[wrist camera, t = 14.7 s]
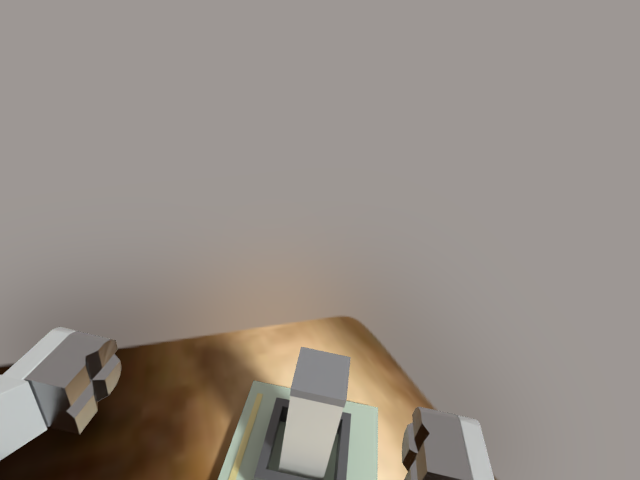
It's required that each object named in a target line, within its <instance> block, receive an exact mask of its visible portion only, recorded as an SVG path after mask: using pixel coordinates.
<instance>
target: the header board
mask: <svg viewBox="0 0 640 480" xmlns="http://www.w3.org/2000/svg"><path fill="white" fill-rule="evenodd" d="M290 391H291V389H290V388H286V387H281V386H277V385H272V384H268V383H263V382H259V381H253V384H252V386H251V389H250V392H249V395H248V397H247V400H246V403H245V406H244V408H243V411H242V414H241V417H240V420H239V422H238V425H237V428H236V431H235V433H234V436H233V439H232V442H231V444H230V447H229V450H228V453H227V455H226V458H225V461H224V464H223V467H222V469H221V472H220V475H219V478H218V480H312V479H307V478H303V477H299V476H294V475H290V474H286V473H281V472H278V470H279V464H280V458H281V452H282V445H283V439H284V433H285V427H286V420H287V414H288V408H289V402H290ZM377 461H378V408H377V407H372V406H368V405H363V404H359V403H354V402H349V401H346V404H345V407H344V408H343V411H342V415H341V419H340V422H339V426H338V429H337V433H336V436H335V440H334V443H333V447H332V450H331V454H330V457H329V461H328V464H327V468H326V471H325V475H324V478H323V480H377Z"/></svg>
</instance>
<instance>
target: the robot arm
mask: <svg viewBox="0 0 640 480" xmlns="http://www.w3.org/2000/svg"><path fill="white" fill-rule="evenodd" d="M117 350H118V347H117V344H116V340H112V339H108V338H104V337H100V336H96V335H92V334H88V333H84V332H79V331H76V330H71V329H67V328H63V327H58V328H56V329H53V330H51V331H50V332H49V333H48V334H47V335H46V336H44V337H43V339H41V340H40V341H39V342H38V343H37V344H36V345H35V346H34V347H32V348H31V349H30V350H29V351H28V352H27V353H26V354H25V355H24V356H22V357H21V358H20V359H19V360H18V361H17V362H16V363H15V364H14V365H13V366H11V367H10V368H9V369H8V370H7V371H6V372H5V373H4V374H3V375H0V460H2V459H3V458H5V457H6V456H8V455H9V454H11V453H12V452H14V451H15V450H17V449H18V448H20V447H22V446H23V445H25V444H26V443H28V442H29V441H31V440H32V439H34V438H35V437H37V436H38V435H40V434H41V433H43V432H44V431H46V430H47V428H52V429H57V430H62V431H67V432H72V433H77V434H80V433H81V432H82V431H83V429H84V428H85V427H86V425H87V424H88V423H89V421H90V420H91V419H92V417H93V416H94V415H95V413H96V412H97V411H98V401H100V400H101V399H103V398H105V397H107V396H109V394H110V393H111V391H112V390H113V389H114V387H115V386H116V384H117V381H118V379H119V376H120V372H121V363H120V360H119V359H118V358H117V357H116V355H115V354H114V353H115V352H116V351H117ZM412 417H413V423H411V424H409V425H407V428H406V430H405V433H404V438H403V443H402V463H403V465H404V466H405V468H406V469H407V471H408V473H407V475H406V477H405V479H404V480H494V477H493V473H492V469H491V465H490V461H489V457H488V454H487V450H486V446H485V442H484V438H483V434H482V430H481V427H480V424H479V422H478V421H477V420H476V419H472V418H467V417H463V416H458V415H455V414H451V413H446V412H441V411H437V410H432V409H427V408H422V407H417V408H415V410H414V412H413V414H412Z"/></svg>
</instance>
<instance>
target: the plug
mask: <svg viewBox="0 0 640 480" xmlns="http://www.w3.org/2000/svg"><path fill="white" fill-rule="evenodd" d="M349 366H350V357H347V356H342V355H337V354H333V353H328V352H323V351H319V350H314V349H309V348H304V347H301V350H300V354H299V358H298V362H297V366H296V370H295V374H294V378H293V382H292V386H291V391H290V402H289V408H288V414H287V420H286V427H285V433H284V439H283V445H282V452H281V458H280V464H279V470H278V472H281V473H286V474H290V475H294V476H299V477H303V478H307V479H312V480H323V478H324V475H325V471H326V468H327V464H328V461H329V457H330V454H331V450H332V447H333V443H334V440H335V436H336V433H337V429H338V426H339V422H340V419H341V415H342V411H343V408H344V407H345V404H346V399H347V388H348V377H349Z"/></svg>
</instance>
